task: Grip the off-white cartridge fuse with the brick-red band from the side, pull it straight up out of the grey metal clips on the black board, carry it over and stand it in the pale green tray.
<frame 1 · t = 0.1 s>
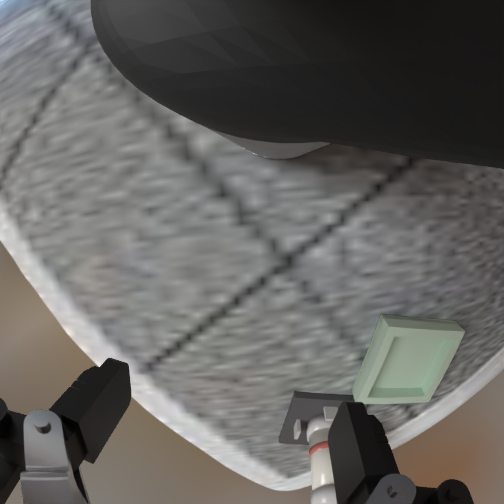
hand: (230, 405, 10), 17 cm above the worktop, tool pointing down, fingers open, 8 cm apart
clip board: (321, 419, 31), on the worktop
fuse: (322, 424, 30), point 1 cm above the worktop, touching clip board
tray: (404, 356, 28), on the worktop
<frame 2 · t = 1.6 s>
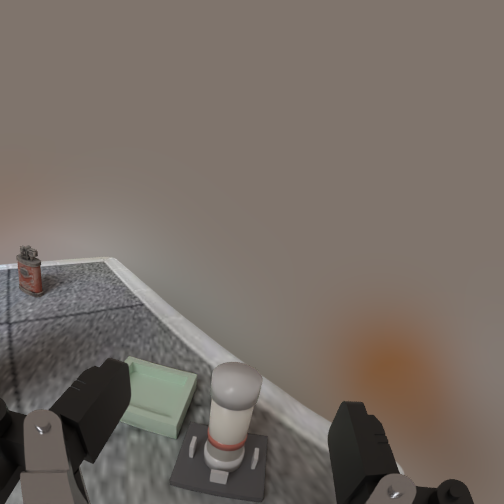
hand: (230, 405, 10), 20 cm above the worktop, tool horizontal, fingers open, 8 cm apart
clip board: (221, 463, 25), on the worktop
fuse: (222, 458, 25), point 1 cm above the worktop, touching clip board
lighter: (31, 292, 50), on the worktop
tray: (149, 401, 32), on the worktop
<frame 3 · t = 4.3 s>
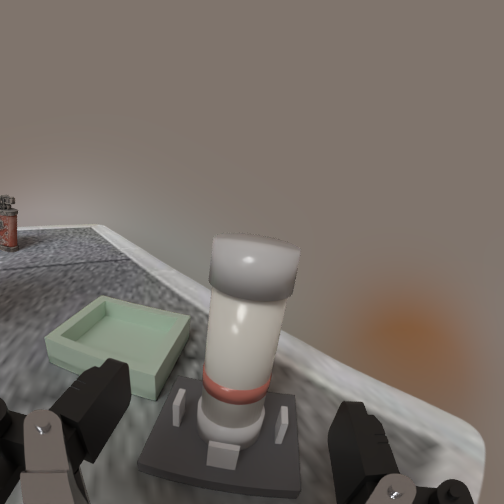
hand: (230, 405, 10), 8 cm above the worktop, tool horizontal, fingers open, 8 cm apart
clip board: (226, 437, 17), on the worktop
fuse: (228, 428, 16), point 1 cm above the worktop, touching clip board
lighter: (5, 248, 41), on the worktop
tray: (122, 351, 24), on the worktop
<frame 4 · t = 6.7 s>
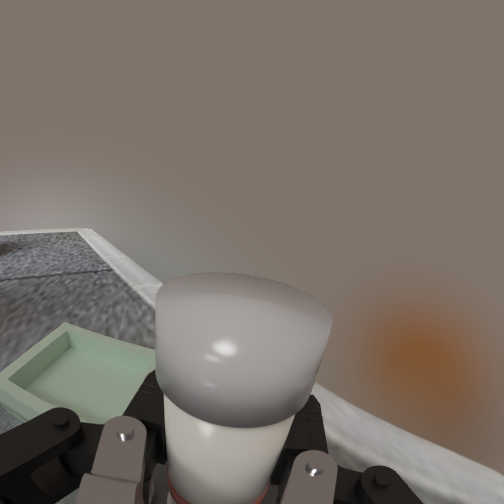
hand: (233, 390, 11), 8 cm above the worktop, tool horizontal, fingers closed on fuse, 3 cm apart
tray: (85, 396, 17), on the worktop
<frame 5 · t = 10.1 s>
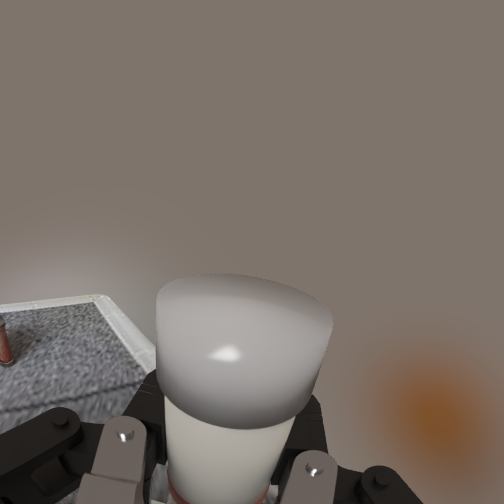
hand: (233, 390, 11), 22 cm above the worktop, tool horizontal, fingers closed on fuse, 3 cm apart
when the fingers open (9 cm above the worktop, at t = 13.4 s): fuse drops 1 cm, resting on tray.
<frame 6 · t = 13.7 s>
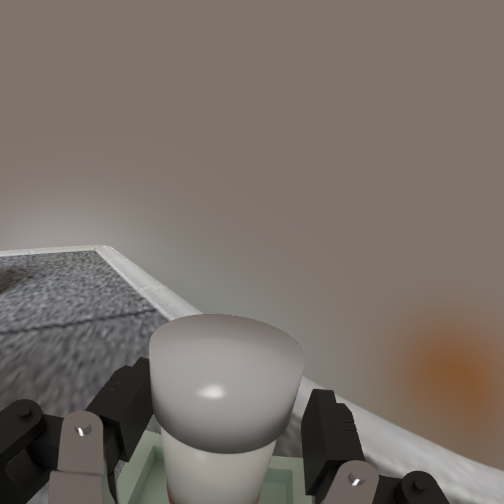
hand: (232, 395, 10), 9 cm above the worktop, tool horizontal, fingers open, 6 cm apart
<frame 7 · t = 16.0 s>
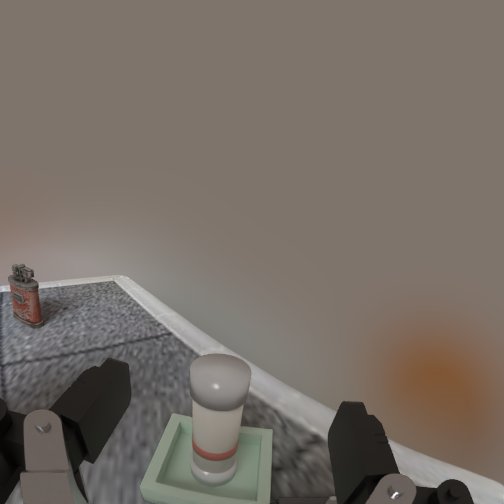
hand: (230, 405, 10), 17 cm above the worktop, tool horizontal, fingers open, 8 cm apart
fuse: (213, 469, 21), point 1 cm above the worktop, touching tray
lighter: (28, 321, 39), on the worktop
tray: (212, 473, 21), on the worktop
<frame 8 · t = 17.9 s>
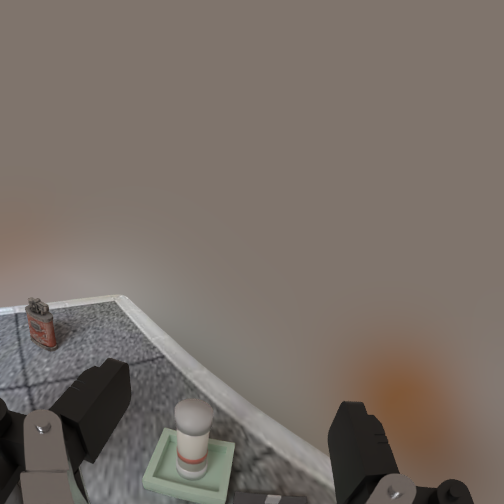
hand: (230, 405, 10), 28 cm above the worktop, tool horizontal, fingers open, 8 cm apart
fuse: (191, 469, 30), point 1 cm above the worktop, touching tray
lighter: (44, 344, 48), on the worktop
tray: (191, 471, 30), on the worktop
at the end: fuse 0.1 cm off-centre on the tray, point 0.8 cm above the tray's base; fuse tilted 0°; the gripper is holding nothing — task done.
